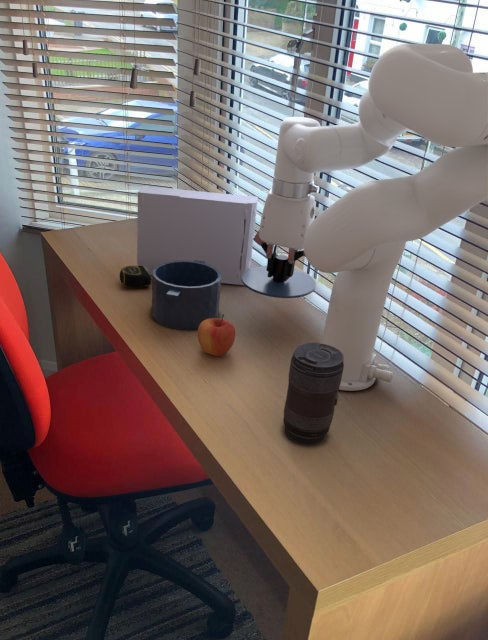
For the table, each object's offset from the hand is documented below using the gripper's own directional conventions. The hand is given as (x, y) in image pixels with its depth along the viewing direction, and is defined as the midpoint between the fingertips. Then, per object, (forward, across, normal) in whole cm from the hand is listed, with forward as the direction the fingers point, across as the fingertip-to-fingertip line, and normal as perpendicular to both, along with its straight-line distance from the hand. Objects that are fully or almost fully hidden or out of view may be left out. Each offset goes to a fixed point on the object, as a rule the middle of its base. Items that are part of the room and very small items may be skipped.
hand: (279, 276), depth 135 cm
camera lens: (+11, -19, +35) cm, 41 cm away
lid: (+1, 0, 0) cm, 1 cm away
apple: (+11, +5, +19) cm, 23 cm away
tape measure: (+11, +35, -1) cm, 37 cm away
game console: (+11, +26, -13) cm, 31 cm away
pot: (+11, +18, +7) cm, 22 cm away
